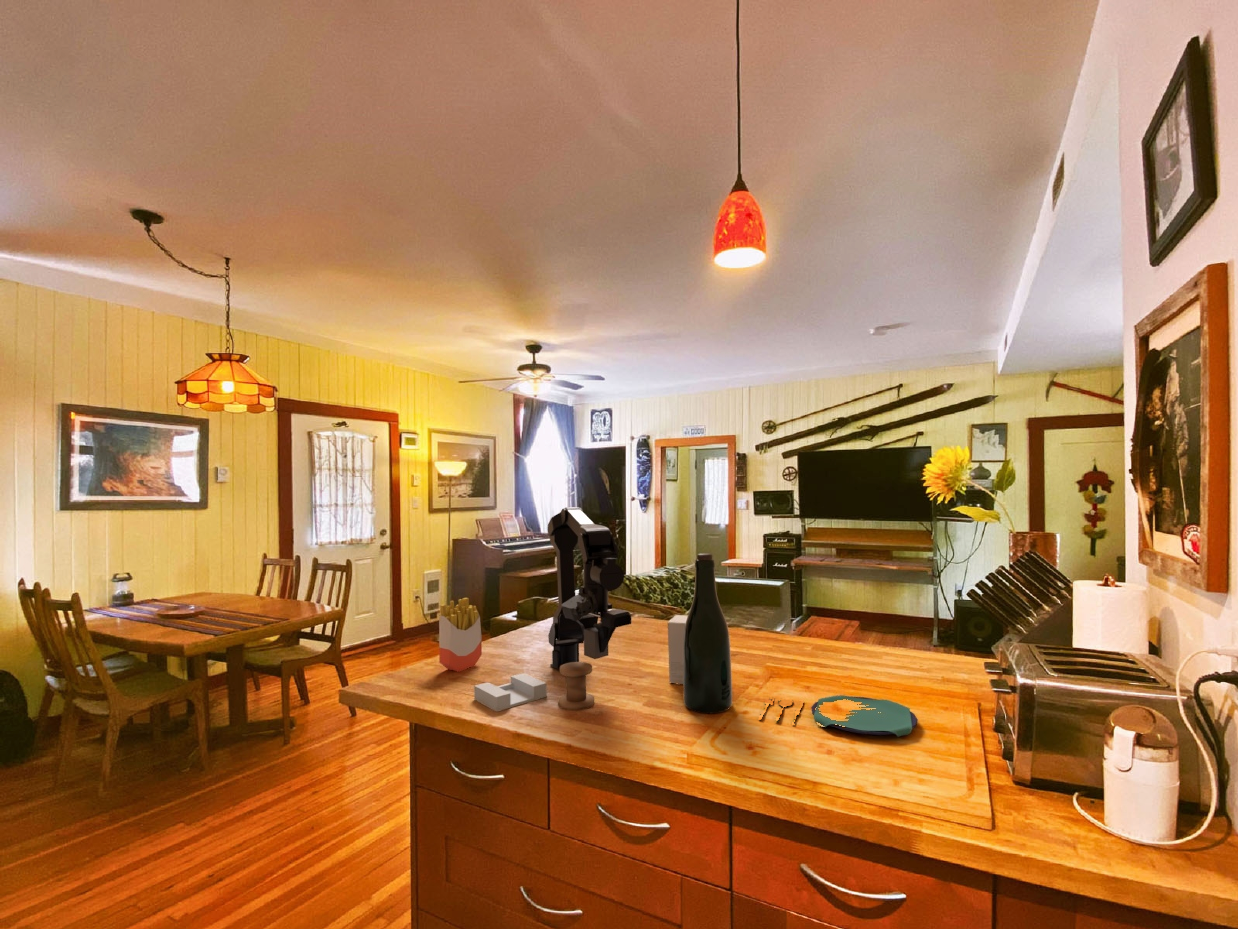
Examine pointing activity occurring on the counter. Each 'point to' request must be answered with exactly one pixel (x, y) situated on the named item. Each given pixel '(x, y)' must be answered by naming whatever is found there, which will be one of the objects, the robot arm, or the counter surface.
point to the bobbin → (576, 686)
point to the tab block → (593, 644)
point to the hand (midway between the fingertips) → (596, 650)
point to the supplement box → (676, 648)
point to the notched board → (510, 692)
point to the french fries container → (459, 636)
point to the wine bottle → (706, 646)
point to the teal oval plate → (870, 717)
